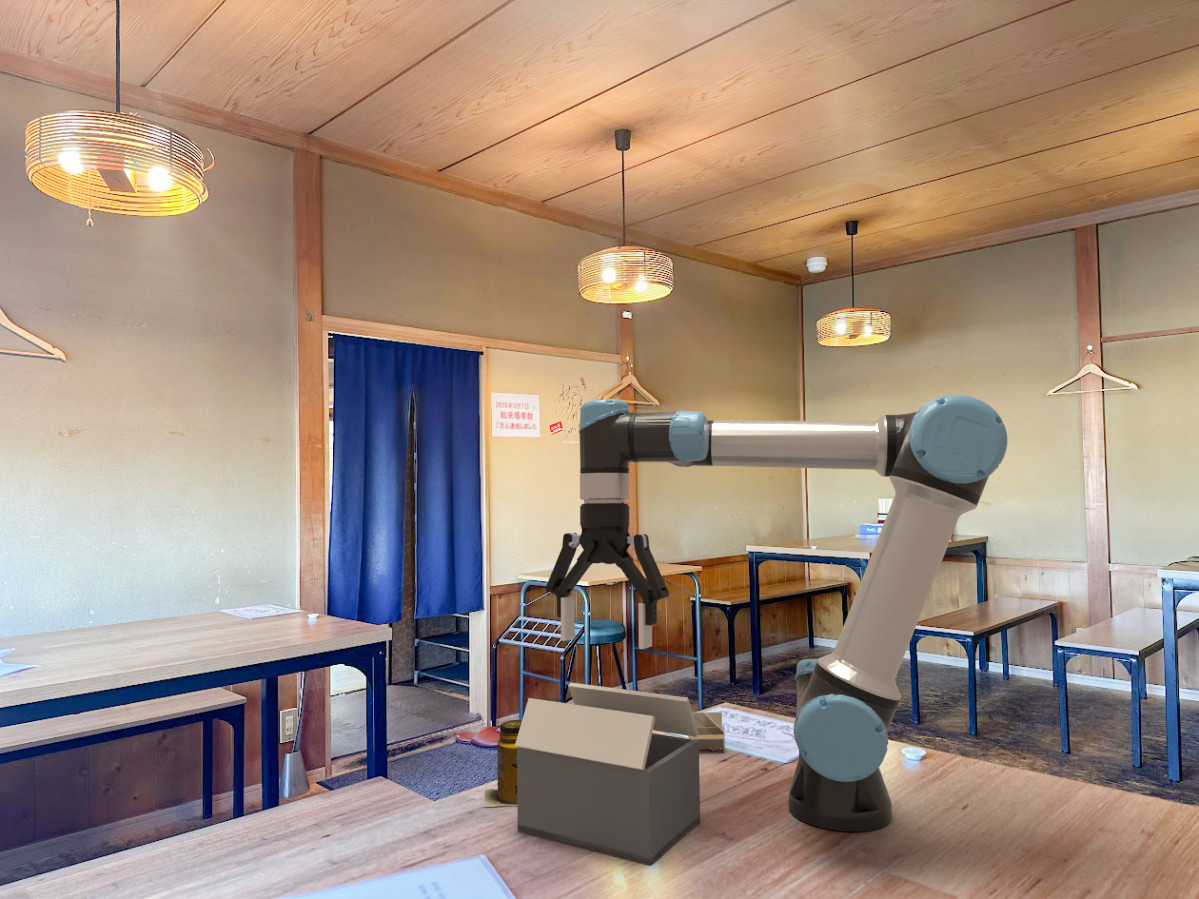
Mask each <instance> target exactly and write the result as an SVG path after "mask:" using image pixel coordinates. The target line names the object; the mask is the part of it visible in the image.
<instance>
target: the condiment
mask: <svg viewBox="0 0 1199 899" xmlns="http://www.w3.org/2000/svg"><path fill="white" fill-rule="evenodd" d="M521 723H522V719H510V720H506V721H504V722H502V723H501V724H500V725H499V739H498V740H497V745H496V747H497V749H496V750H497V754H496V755H497V763H496V764H497V767H496V769H497V773H496V776H497V779H496V782H497V789H494V788H493V789H492V788H489V789H484V806H483V807H484V808H491V807H492V808H495V807H517V746H515V743H516V740H517V736H518V733H519V730H520V726H521ZM498 802H499V803H498Z"/></svg>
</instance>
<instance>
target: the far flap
mask: <svg viewBox="0 0 1199 899" xmlns="http://www.w3.org/2000/svg"><path fill="white" fill-rule="evenodd" d="M567 687H568V690H569V691H570V696H571V698H572V701H573V703H574V705H581V706H588V707H594V708H601V709H608V710H615V711H622V712H629V713H636V714H643V715H649V716H654V717H655V722H654V727H653V731H655V732H663V733H668V734H675V735H680V736H681V735H682V736H687V737H688V736H693V737H697V736H698V734H699V732H698V729H697V726H696V722H695V719H694V716H693V709H692V707H691V706H692V705H691V702H690V699H689V697H688V696H687V697H686V696H676V695H670V694H662V693H654V692H646V691H638V690H632V689H631V690H630V689H624V688H623V689H622V688H615V687H607V686H600V685H599V686H598V685H592V684H583V683H576V682H569V684H568V686H567Z"/></svg>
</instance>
